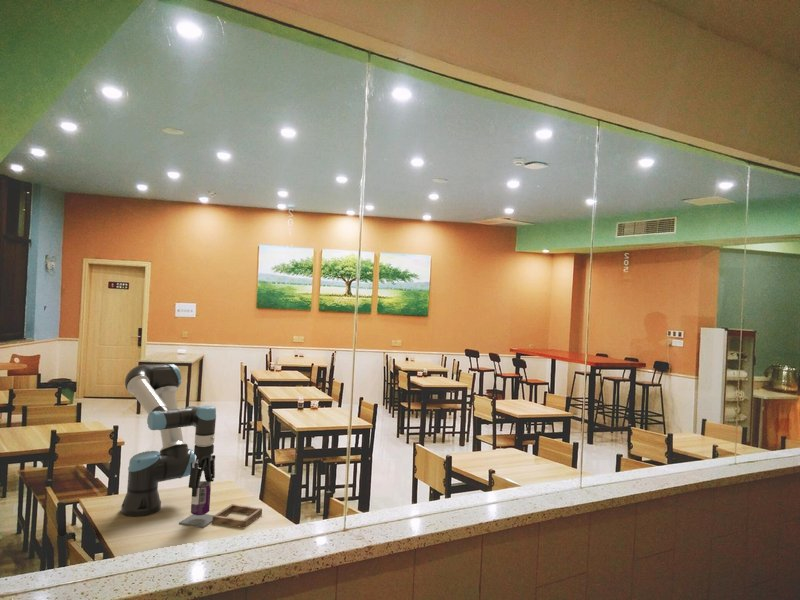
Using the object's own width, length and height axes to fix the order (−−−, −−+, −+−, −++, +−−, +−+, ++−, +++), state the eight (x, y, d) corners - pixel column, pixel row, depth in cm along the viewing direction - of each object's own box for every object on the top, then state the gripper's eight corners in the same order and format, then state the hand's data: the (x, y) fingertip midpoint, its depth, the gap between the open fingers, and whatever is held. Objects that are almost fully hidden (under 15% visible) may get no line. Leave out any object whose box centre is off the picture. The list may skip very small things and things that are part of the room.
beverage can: (212, 511, 212) (214, 481, 212) (202, 517, 205) (204, 487, 205) (197, 508, 213) (199, 479, 214) (187, 515, 206) (188, 485, 207)
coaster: (178, 523, 205) (179, 522, 205) (195, 513, 216) (195, 512, 216) (203, 527, 202) (203, 526, 202) (219, 517, 213) (219, 516, 213)
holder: (212, 522, 208) (212, 516, 208) (231, 509, 222) (232, 504, 222) (244, 527, 205) (244, 521, 205) (261, 514, 219) (262, 508, 219)
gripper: (197, 451, 199) (193, 510, 199) (226, 439, 219) (222, 494, 218) (180, 449, 201) (176, 508, 200) (210, 438, 220) (207, 491, 220)
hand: (200, 500), depth 209 cm, fingers closed on beverage can, 7 cm apart
